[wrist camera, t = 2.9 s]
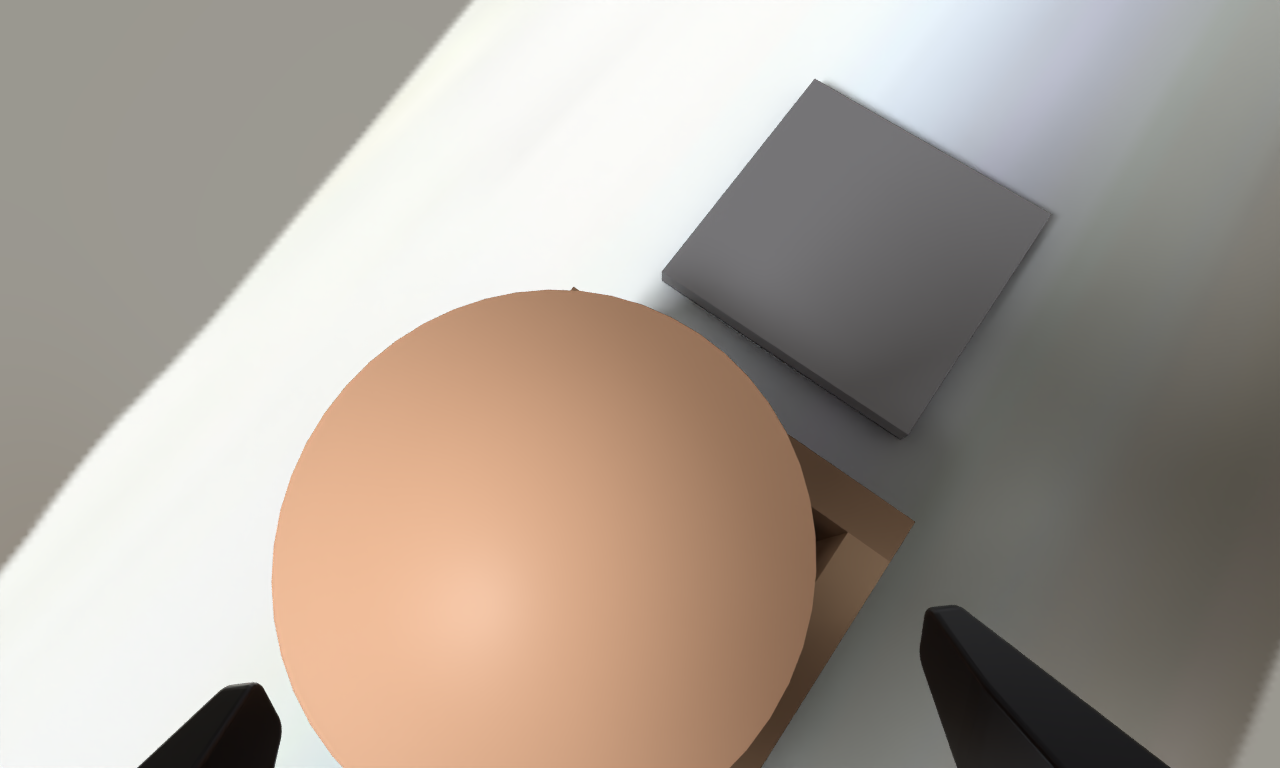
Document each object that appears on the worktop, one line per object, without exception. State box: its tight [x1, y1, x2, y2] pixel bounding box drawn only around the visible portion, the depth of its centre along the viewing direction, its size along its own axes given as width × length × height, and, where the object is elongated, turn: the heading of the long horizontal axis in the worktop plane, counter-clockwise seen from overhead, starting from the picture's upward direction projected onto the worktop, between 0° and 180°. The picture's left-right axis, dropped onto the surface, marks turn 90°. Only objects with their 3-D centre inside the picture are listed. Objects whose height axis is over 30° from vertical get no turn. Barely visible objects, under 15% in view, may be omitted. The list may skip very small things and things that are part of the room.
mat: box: [662, 79, 1051, 439], centre depth 20 cm, size 8×8×1 cm
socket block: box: [571, 287, 915, 768], centre depth 16 cm, size 9×9×4 cm
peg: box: [272, 290, 816, 768], centre depth 12 cm, size 4×4×13 cm
